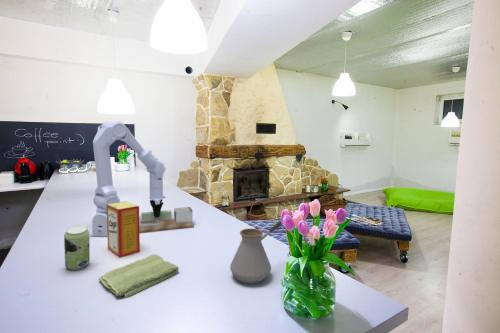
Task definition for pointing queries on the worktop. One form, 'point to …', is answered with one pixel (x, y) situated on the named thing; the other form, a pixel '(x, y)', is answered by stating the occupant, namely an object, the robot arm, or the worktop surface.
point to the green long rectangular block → (150, 215)
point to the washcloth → (138, 275)
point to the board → (166, 226)
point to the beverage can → (76, 247)
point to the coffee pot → (251, 257)
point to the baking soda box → (123, 228)
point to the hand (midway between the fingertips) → (156, 216)
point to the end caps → (180, 217)
